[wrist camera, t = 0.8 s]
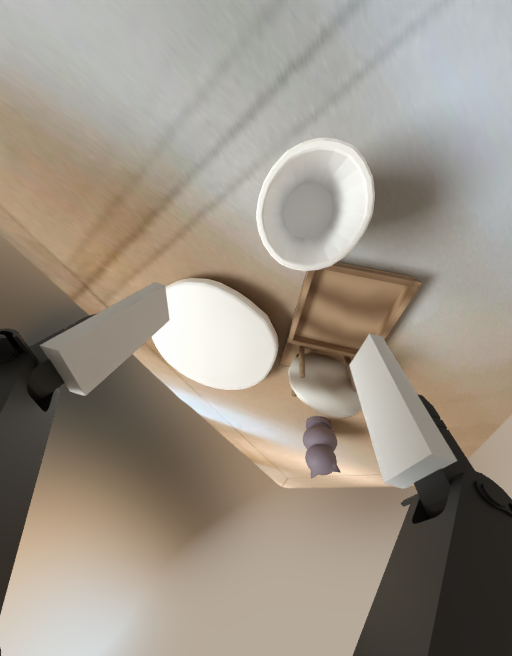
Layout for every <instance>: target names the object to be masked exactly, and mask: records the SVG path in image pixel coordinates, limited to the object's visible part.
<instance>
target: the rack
mask: <svg viewBox="0 0 512 656" xmlns="http://www.w3.org/2000/svg"><path fill="white" fill-rule="evenodd" d="M421 284H422V283H421V282H420V281H418V280H417V279H415V278H413V277H412V276H407V275H401V274H396V273H391V272H386V271H381V270H376V269H371V268H365V267H360V266H355V265H350V264H345V263H340V262H336V263H335V264H333V265H332V266H329V267H326V268H322V269H319V270H311V271H307V272H306V275H305V279H304V282H303V285H302V289H301V292H300V296H299V299H298V302H297V306H296V309H295V312H294V316H293V319H292V323H291V326H290V329H289V333H288V336H287V340H286V343H285V346H284V350H283V353H282V357H281V360H280V365H282V366H286V367H290V368H289V372H288V378H289V382H290V385H291V387H292V396H298V398H299V399H300V400H301V401H302V402H304V403H305V404H306V405H307V406H309V407H310V408H312V409H313V410H315V411H317V412H319V413H321V414H323V415H327V416H330V417H335V418H347V417H351V416H354V415H355V414H357V413H358V412H359V411H360V410H361V409H362V407H361V403H360V400H359V397H358V393H357V390H356V386H355V383H354V380H353V376H352V373H351V370H350V366H349V365H350V363H351V362H352V360H353V359H354V357H355V356H356V354H357V352H358V351H359V349H360V348H361V346H362V344H363V343H364V341H365V340H366V338H367V337H368V335H369V334H373V335H377V336H382V337H383V339H384V340H385V338H386V337H387V335H388V334H389V332H390V331H391V329H392V328H393V326H394V325H395V323H396V322H397V320H398V319H399V317H400V316H401V314H402V313H403V311H404V310H405V308H406V307H407V305H408V304H409V302H410V301H411V299H412V298H413V296H414V295H415V293H416V292H417V290H418V289H419V287H420V286H421Z"/></svg>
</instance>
